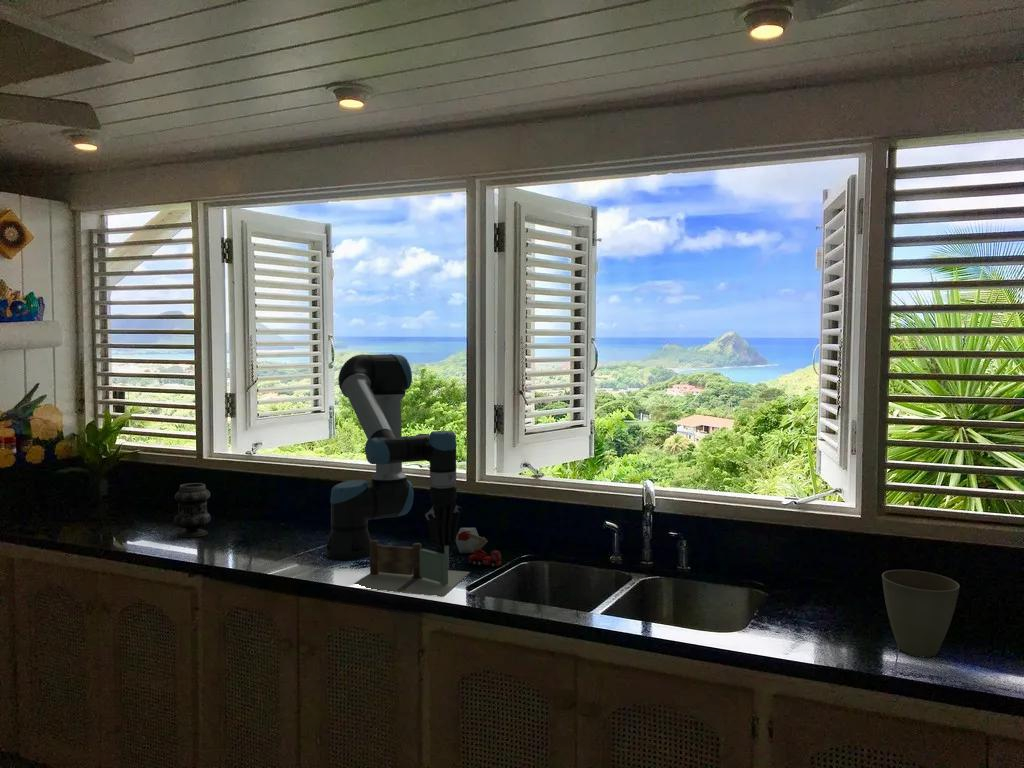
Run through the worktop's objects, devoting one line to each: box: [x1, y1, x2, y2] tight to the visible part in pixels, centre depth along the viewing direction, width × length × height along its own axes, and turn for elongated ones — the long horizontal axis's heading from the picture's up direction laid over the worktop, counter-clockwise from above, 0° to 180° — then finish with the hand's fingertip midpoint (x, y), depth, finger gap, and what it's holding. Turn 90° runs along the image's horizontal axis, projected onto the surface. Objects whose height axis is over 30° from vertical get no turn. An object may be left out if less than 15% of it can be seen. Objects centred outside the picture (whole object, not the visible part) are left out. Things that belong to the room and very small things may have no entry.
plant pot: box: [881, 569, 961, 658], centre depth 161 cm, size 15×15×16 cm
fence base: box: [369, 539, 423, 578], centre depth 214 cm, size 16×2×10 cm, turn 75°
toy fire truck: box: [457, 531, 502, 568], centre depth 227 cm, size 3×14×10 cm, turn 71°
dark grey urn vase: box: [173, 482, 211, 539], centre depth 262 cm, size 12×12×18 cm
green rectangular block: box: [419, 548, 449, 585], centre depth 208 cm, size 10×2×8 cm, turn 50°
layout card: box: [353, 569, 471, 597], centre depth 210 cm, size 28×22×1 cm
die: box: [454, 527, 480, 554], centre depth 241 cm, size 8×9×10 cm
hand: (444, 567), depth 209 cm, fingers closed
